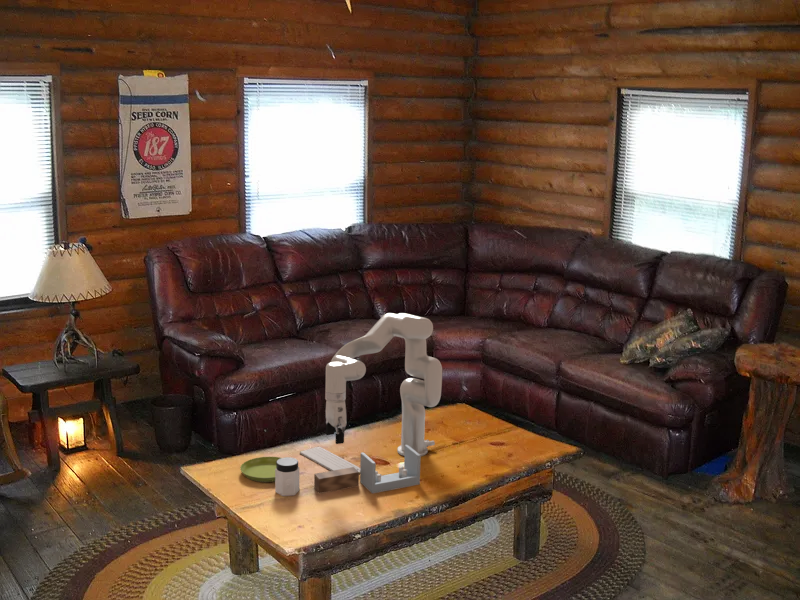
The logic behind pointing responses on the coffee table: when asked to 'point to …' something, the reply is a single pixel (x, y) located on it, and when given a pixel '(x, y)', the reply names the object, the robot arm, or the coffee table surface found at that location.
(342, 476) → the shelf board
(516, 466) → the coffee table surface
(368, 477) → the peg frame
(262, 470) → the saucer
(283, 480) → the jar
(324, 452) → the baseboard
